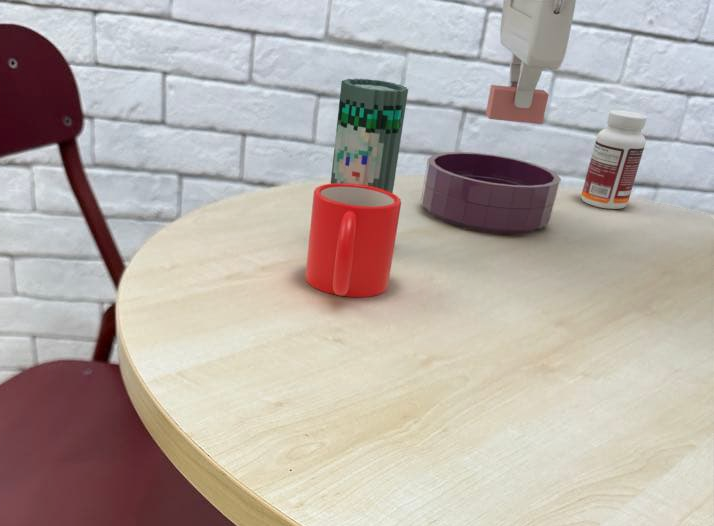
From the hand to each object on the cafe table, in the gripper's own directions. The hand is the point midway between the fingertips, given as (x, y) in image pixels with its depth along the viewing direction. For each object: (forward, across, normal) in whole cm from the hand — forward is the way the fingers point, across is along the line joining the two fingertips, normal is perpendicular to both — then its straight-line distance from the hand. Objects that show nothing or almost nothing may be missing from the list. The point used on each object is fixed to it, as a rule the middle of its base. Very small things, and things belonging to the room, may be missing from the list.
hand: (517, 103), depth 95 cm
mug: (+13, -29, +18) cm, 37 cm away
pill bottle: (+13, +14, -17) cm, 25 cm away
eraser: (+2, 0, 0) cm, 2 cm away
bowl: (+13, +1, +1) cm, 13 cm away
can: (+13, -15, +17) cm, 26 cm away
